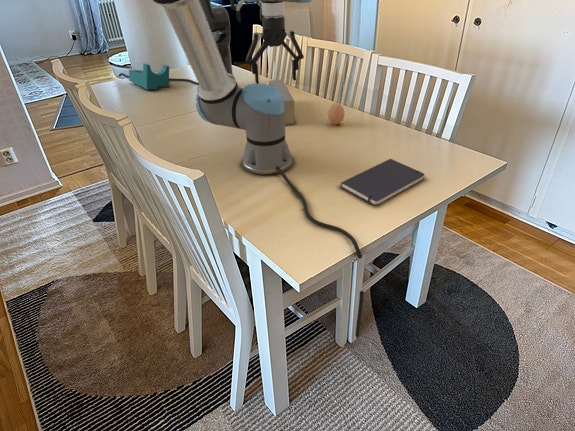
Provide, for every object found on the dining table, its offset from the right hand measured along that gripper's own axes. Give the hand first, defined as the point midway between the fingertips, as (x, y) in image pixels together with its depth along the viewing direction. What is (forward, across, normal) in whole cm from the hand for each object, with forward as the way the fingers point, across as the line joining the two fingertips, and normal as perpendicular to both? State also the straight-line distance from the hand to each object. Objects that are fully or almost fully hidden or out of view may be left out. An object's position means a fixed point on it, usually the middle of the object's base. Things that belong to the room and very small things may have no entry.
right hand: (275, 81), depth 145 cm
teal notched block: (+15, +50, -59) cm, 78 cm away
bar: (+15, -3, -7) cm, 17 cm away
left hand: (-16, +4, -27) cm, 32 cm away
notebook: (+15, -20, +53) cm, 59 cm away
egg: (+15, -20, +10) cm, 27 cm away
